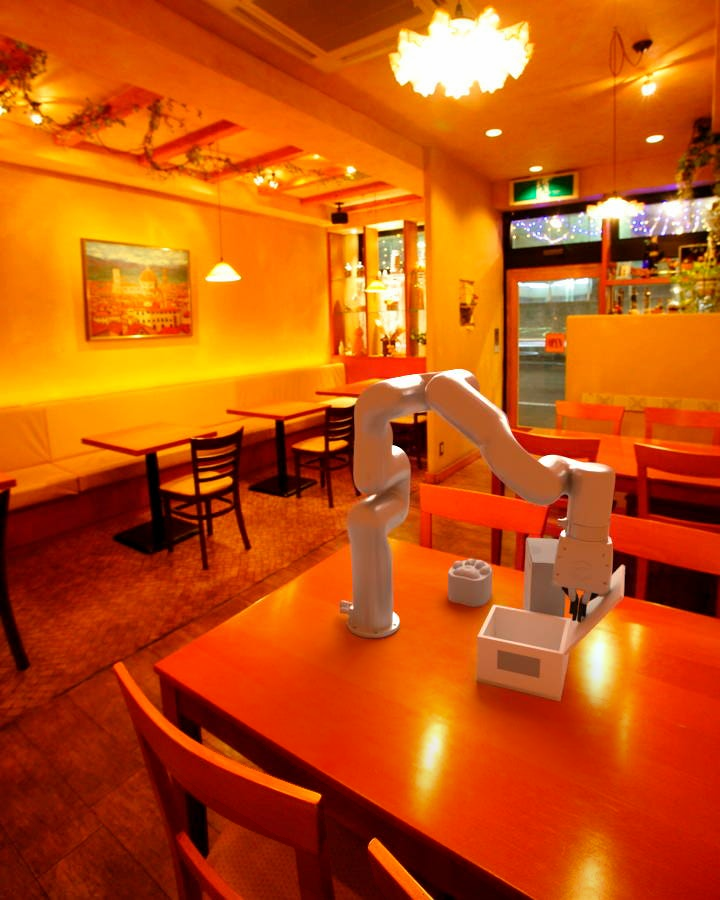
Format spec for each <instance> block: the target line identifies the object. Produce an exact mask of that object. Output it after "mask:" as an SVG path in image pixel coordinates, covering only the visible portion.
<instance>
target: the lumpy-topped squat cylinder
mask: <svg viewBox="0 0 720 900" xmlns="http://www.w3.org/2000/svg"><path fill="white" fill-rule="evenodd" d="M492 569H493V568H492V567H491V565H490V564H488V563H487V562H485V561H484V560H481V559H476V558H475V559H474V558H468V559H466V560H456V561H454V562H453V564H452V566H451V567H450V568H449V570H448V572H447V599H448V601H450V602H452V603H454V604H455V603H456V604H461V605H465V606H468V607H473V608H477V607H479V608H480V607H482V606H484V605H485V604H487V603H488V602H489V600H490V599H491V598H492V594H493V593H492V592H493V591H492V589H493V570H492Z"/></svg>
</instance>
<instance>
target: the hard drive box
mask: <svg viewBox="0 0 720 900" xmlns="http://www.w3.org/2000/svg"><path fill="white" fill-rule="evenodd" d="M558 540H559V538H558V539H557V538H545V537H544V538H542V537H541V538H540V537H526V539H525V559H524V580H523V602H522V603H523V604H522V608H523V609H522V610H526V611H531V612H537V613H542V614H547V615H553V616H558V617H564V618H565V609H566V597H567V595H566V594H565V592H564V591H563V590H562V589H559V588H557V587H554V586H552V585H551V581H552V578H553V567H554V560H555V554H556V548H557V544H558Z"/></svg>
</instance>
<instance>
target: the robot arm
mask: <svg viewBox="0 0 720 900" xmlns="http://www.w3.org/2000/svg"><path fill="white" fill-rule="evenodd" d="M353 410H354V411H353V417H354V420H353V421H354V423H353V424H354V442H353V469H352V470H353V472H352V473H353V481H354V483H353V484H354V486H355V488H357V490H358V492H360V493H361V494H364V495H367V497H365V498H362V499H361V500H358V501H357V502H356V503H355V504H353V505H352V507H351V508H350V509H349V511H348V513H347V516H346V530H347V534H348V539H349V544H350V554H351V574H352V575H351V576H352V577H351V581H352V602H350V601H346V600H340V602H339V613H340V614H344V615H345V614H346V615H348V618H347V623H346V625H347V626H346V627H347V629H348V630H349V631H350V632H351V633H352V634H354V635H356V636H358V637H362V638H365V639H378V638H384V637H388V636H390V635H393V634H394V633H395V632H397V631H398V630H399V629H400V626H401V625H400V624H401V623H400V622H401V621H400V617H399V616H398V615H397V613H395V612H394V581H393V580H394V579H393V578H394V577H393V574H394V573H393V572H394V571H393V552H392V547H391V545H390V543H389V539H388V534H389V533H390V532H391V531H392V530H394V529H396V528H397V527H398V526H400V525H401V524H402V523H403V522H404V521H405V520H406V518H407V516H408V513H409V510H410V509H409V508H410V493H411V473H412V471H411V469H412V468H411V463H410V460H409V459H410V458H408V455H407V454H406V452H405V451H404V450H403V449H402V448H400V447H398V446H396V445H393V440H394V436H393V435H394V433H393V429H392V425H391V423H390V422H391V421H393V420H395V419H400V418H403V417H407V416H410V415H414V414H416V413H421V412H431V411H432V412H434V413H435V414H437V415H438V416H439V417H441V419H443V420H444V421H445V422H447V423H448V424H449V425H450V426H451V427H452V428H454V429H455V430H456V431H458V432H459V433H460V434H461V435H462V436H464V438H466V439H467V440H468V441H470V443H472V444H473V445H474V446H475V447H476V448H477V450H478V451H479V453H480V455H481V457H482V458H483V459H484V461H485V463H486V465H488V467H489V469H490V471H492V472H493V474H494V475H495V476H496V477H497V478H498V479H499V480H500V481H501V482H502V483H503V484H504V485H506V486H507V487H508V488H509V489H510V490H512V491H513V492H514V493H515V494H517V495H518V496H519V497H520V498H522V499H523V500H524V501H526V502H528V503H530V504H532V505H536V506H540V507H541V506H549V505H551V504H554V503H555V502H556V501H558V500H559V499H560V498H561V496H563V495H567V496H568V498H567V499H568V501H567V509H566V510H567V511H566V517H564V518H562V519H560V518H558V519H557V526H558V527H561V528H562V529H563V530H562V531H561V533H560V534H559V538H558V544H557V548H556V554H555V560H554V567H553V578H552V581H551V585H552V586H554V587H557V588H559V589H562V590H563V591H564V592H565V594H566V597H567V598H568V600H569V601H570V602H569V611H568V613H569V615H571V617H572V621H576V619H577V621H578V622H581V618H582V617H586V610H587V604H588V603H589V602H590V601H591V600H593V599H595V598H596V597H606V596H607V595H608V594H609V593H610V590H611V589H610V585H611V578H612V575H613V561H614V559H613V558H614V550H613V549H614V548H613V541H612V540H613V539H612V538H611V537H610V536H609V534H610V525H611V518H612V517H611V516H612V508H613V501H614V493H615V484H616V472H615V470H614V469H613V468H612V467H611V466H609V465H606V464H604V463H598V462H589V461H588V462H583V461H578V460H576V459H572V458H568V457H565V456H561V455H557V454H550V455H548V454H547V455H545V456H543V457H541V458H539V459H537V458H535V457H534V456H533V455H532V454H531V453H529V452H528V451H527V450H526V449H524V447H523V446H522V445H521V444H520V443H519V442H518V441H517V439H516V438H515V436H514V434H513V432H512V431H511V427H510V425H511V424H510V422H509V418H508V415H507V414H506V413H505V412H504V411H503V410H502V409H501V408H500V407H498V406H497V405H495V404H494V403H493V402H491V400H489V399H488V398H487V397H485V396H484V395H483V394H481V386H480V383H479V381H478V379H477V377H476V376H475V375H474V374H473V373H471V372H470V371H468V370H465V369H460V368H459V369H452V370H445V371H437V372H427V373H417V374H411V375H403V376H400V377H399V376H398V377H394V378H393V377H392V378H389V379H385V380H382V381H378V382H376V383H373V384H372V385H369V386H368V387H367V388H365V389H364V390H363V391H362V392H361V393H360V394H359V395H358V396H357V399H356V401H355V405H354V409H353ZM578 591H582V592H583V594H582V595H580V597H579V594H578ZM577 613H578V615H577Z"/></svg>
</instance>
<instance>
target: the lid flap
mask: <svg viewBox="0 0 720 900" xmlns="http://www.w3.org/2000/svg"><path fill="white" fill-rule="evenodd" d="M625 570H626V565H624V564H621V565H619V567H618V568H617V569H616V571H614V572H613V573H612V578H611V585H610V589H611V590H610V593H609V594H608V595H607V596H606V597H596V598H595V599H593V600H591V601H590V602H589V603H588V604H587V610H586V617H582V618H581V622H578V621H577V619H576V621H572V616H571V617H570V619H571V620H570V624H569V629H568V633H567V638H566V643H565V647H564V652H563V654H565V655H567V654H568V653H569V654H570V652H571V651H572V650H573V649H574V648H575V647H576V646H577V645H578V644H579V643H580V642H581V641H582V640H583V639H584V638H585V637H586V636H587V635H588V634H589V633H590V632H591V631H592V630H593V629H594V628H596V626H598V624H599V623H600V622H602V620H603V619H604V618H605V617H607V615H608V614H609V613H610V612H611V611H612V610H613V609H614V608H615V607H616V606H617V605H618V604H619V603H620V602H621V601H622V600H623V599H624V597H625V596H624V595H625V575H626V571H625ZM577 615H578V613H577Z"/></svg>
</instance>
